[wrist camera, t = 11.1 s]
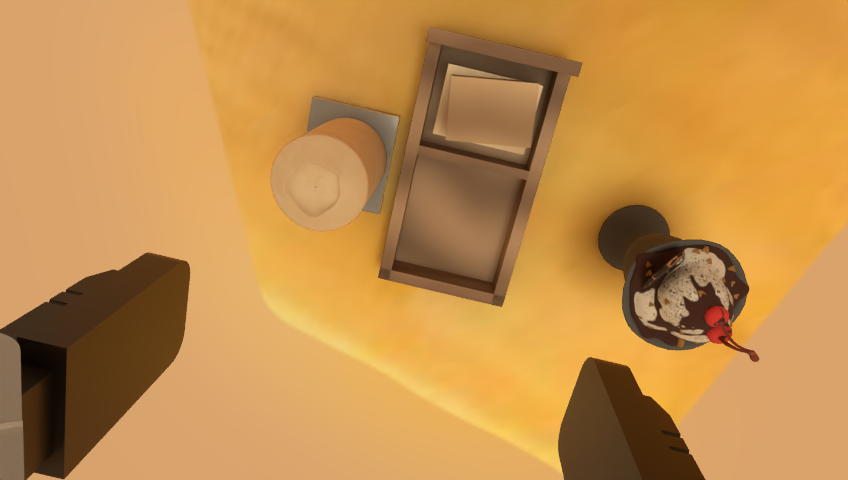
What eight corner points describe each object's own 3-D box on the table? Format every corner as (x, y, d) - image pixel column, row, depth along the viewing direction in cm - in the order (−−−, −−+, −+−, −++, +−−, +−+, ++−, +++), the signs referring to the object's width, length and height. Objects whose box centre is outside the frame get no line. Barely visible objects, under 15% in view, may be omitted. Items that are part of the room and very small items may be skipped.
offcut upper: (452, 74, 36) (451, 75, 34) (536, 81, 36) (539, 83, 34) (446, 135, 37) (445, 140, 36) (527, 143, 37) (530, 147, 35)
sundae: (680, 279, 42) (788, 397, 28) (585, 283, 43) (645, 401, 29) (685, 190, 40) (806, 270, 26) (586, 196, 41) (651, 276, 26)
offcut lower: (449, 62, 38) (448, 63, 36) (538, 83, 38) (543, 85, 36) (434, 128, 40) (432, 133, 37) (520, 148, 40) (523, 154, 37)
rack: (433, 28, 38) (429, 26, 33) (567, 60, 38) (582, 62, 33) (382, 265, 43) (372, 292, 39) (500, 292, 43) (504, 322, 39)
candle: (381, 201, 41) (357, 247, 32) (305, 188, 41) (258, 230, 32) (392, 124, 39) (370, 148, 30) (313, 110, 39) (265, 129, 30)
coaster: (314, 96, 40) (312, 96, 39) (400, 116, 40) (399, 117, 39) (299, 192, 42) (297, 194, 41) (380, 211, 42) (378, 214, 42)
